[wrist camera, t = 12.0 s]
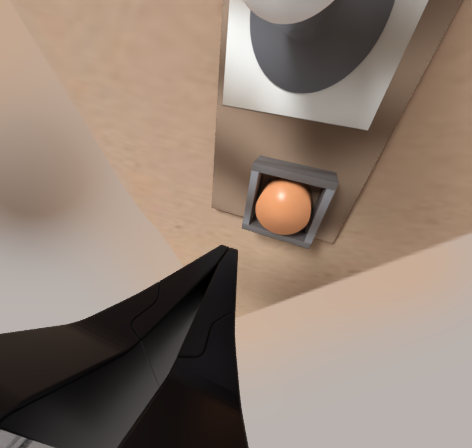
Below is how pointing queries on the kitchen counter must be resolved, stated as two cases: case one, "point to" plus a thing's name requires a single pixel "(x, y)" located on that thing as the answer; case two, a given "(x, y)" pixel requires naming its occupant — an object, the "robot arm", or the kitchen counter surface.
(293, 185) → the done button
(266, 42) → the board
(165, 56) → the kitchen counter surface
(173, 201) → the kitchen counter surface
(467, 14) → the kitchen counter surface
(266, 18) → the milkshake
